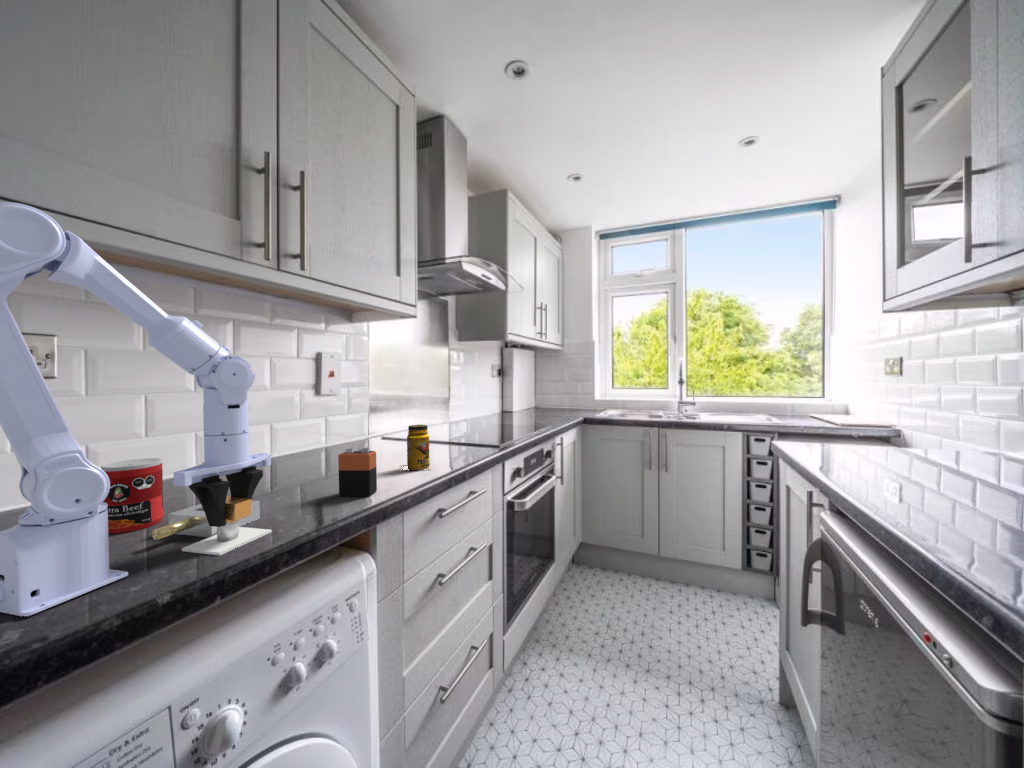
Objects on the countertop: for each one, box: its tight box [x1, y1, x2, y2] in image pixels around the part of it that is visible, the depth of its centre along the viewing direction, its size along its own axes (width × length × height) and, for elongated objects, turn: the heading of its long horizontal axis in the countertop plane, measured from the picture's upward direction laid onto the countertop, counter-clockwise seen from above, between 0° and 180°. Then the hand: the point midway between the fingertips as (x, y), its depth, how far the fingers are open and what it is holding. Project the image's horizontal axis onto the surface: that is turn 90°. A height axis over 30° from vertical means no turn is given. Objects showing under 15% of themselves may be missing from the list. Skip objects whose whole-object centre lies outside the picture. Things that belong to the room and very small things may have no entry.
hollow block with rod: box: [151, 499, 261, 541], centre depth 68 cm, size 14×9×3 cm, turn 166°
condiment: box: [398, 424, 432, 473], centre depth 113 cm, size 7×8×12 cm
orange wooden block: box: [205, 495, 251, 542], centre depth 63 cm, size 6×3×6 cm, turn 76°
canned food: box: [100, 457, 164, 534], centre depth 71 cm, size 8×8×11 cm
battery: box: [337, 447, 378, 498], centre depth 88 cm, size 4×7×10 cm, turn 87°
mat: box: [181, 526, 273, 556], centre depth 63 cm, size 9×7×1 cm
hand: (228, 521), depth 63 cm, fingers open, 3 cm apart
